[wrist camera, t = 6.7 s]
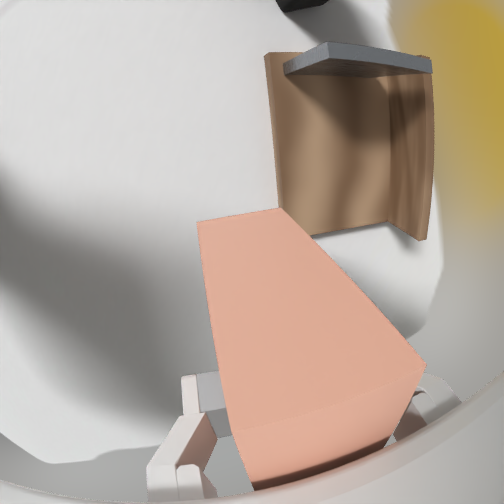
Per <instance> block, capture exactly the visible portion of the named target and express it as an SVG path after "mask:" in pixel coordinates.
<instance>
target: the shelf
mask: <svg viewBox="0 0 504 504" xmlns="http://www.w3.org/2000/svg"><path fill="white" fill-rule="evenodd" d="M302 53H303V52H269V53H267V54H266V55H265V56H264V60H265V68H266V77H267V86H268V95H269V105H270V114H271V124H272V134H273V145H274V156H275V167H276V179H277V191H278V204H279V208H282V209H283V210H284V211H285V212H286V213H287V214H288V215H289V216H290V217H291V218H292V219H293V220H294V221H295V222H296V223H297V224H298V225H299V226H300V227H301V228H302V229H303V230H304V231H305V232H306V233H307V234H308V235H315V234H320V233H326V232H331V231H337V230H342V229H348V228H353V227H359V226H365V225H370V224H376V223H381V222H387V221H388V222H390V223H391V224H393V225H395V226H396V227H398V228H399V229H401V230H402V231H404V232H406V233H407V234H409V235H410V236H412V237H413V238H415V239H416V240H418V241H421V240H426V238H427V231H428V224H429V216H430V207H431V196H432V184H433V166H434V103H433V87H432V76H431V74H411V75H397V76H386V77H376V78H361V77H348V76H329V75H284V72H283V63H285V62H287V61H288V60H290V59H292V58H294V57H296V56H298V55H300V54H302ZM418 57H422V58H426V59H429V60H430V58H429V57H426V56H422V55H418Z"/></svg>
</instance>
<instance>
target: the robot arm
mask: <svg viewBox="0 0 504 504" xmlns="http://www.w3.org/2000/svg"><path fill="white" fill-rule="evenodd" d="M181 387H182V402H183V415H182V416H179V417H178V419H177V420H176V422H175V424H174V425H173V427H172V428H171V430H170V431H169V433H168V434H167V436H166V438H165V439H164V441H163V442H162V444H161V445H160V447H159V448H158V450H157V451H156V453H155V455H154V456H153V458H152V459H151V461H150V462H149V464H148V465H147V491H148V502H118V501H104V500H94V499H85V498H78V497H71V496H64V495H59V494H54V493H48V492H44V491H39V490H35V489H31V488H27V487H23V486H20V485H16V484H13V483H10V482H6V481H3V480H0V504H504V371H503V372H501V373H500V374H499V375H498V376H497V377H495V378H494V379H493V380H492V381H490V382H489V383H488V384H487V385H485V386H484V387H483V388H482V389H480V390H479V391H478V392H476V393H475V394H474V395H472V396H471V397H469V398H468V399H467V400H465V401H464V402H461V401H460V400H459V398H458V397H457V396H456V394H455V393H454V392H453V391H452V389H451V388H450V387H449V386H448V385H447V383H446V382H445V381H444V380H443V379H441V378H438V377H436V376H433V375H430V374H428V373H425V372H423V375H422V377H421V379H420V381H419V383H418V385H417V388H416V390H415V392H414V394H413V396H412V398H411V400H410V402H409V404H408V406H407V407H406V409H405V411H404V413H403V415H402V417H401V419H400V420H399V421H400V422H399V424H398V426H397V427H396V429H395V431H394V433H393V435H394V437H395V439H396V440H397V442H395V443H393V444H391V445H389V446H387V447H385V448H383V449H381V450H379V451H376V452H374V453H372V454H370V455H367V456H365V457H363V458H360V459H358V460H356V461H353V462H351V463H348V464H345V465H343V466H340V467H338V468H335V469H332V470H329V471H326V472H323V473H320V474H317V475H314V476H311V477H308V478H305V479H301V480H298V481H294V482H291V483H287V484H283V485H280V486H275V487H271V488H267V489H263V490H258V491H254V492H249V493H243V494H237V495H231V496H224V497H218V496H217V492H216V488H215V487H214V486H213V485H212V483H211V482H210V481H209V480H208V478H207V477H206V476H205V475H204V473H203V471H204V469H205V467H206V465H207V462H208V460H209V458H210V456H211V454H212V451H213V449H214V446H215V444H216V442H217V438H221V437H225V436H230V435H232V432H231V428H230V423H229V418H228V414H227V409H226V404H225V399H224V394H223V389H222V384H221V378H220V373H219V370H218V371H212V372H206V373H199V374H193V375H187V376H182V378H181Z"/></svg>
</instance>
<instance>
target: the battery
mask: <svg viewBox="0 0 504 504" xmlns="http://www.w3.org/2000/svg"><path fill="white" fill-rule="evenodd" d="M327 1H329V0H276V2H277V3H278V5H279V7H280V9H281V10H282V11H283V12H290V11H294V10H299V9H304V8H309V7H314V6H320V5H323V4H324V3H326V2H327Z"/></svg>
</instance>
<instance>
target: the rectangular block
mask: <svg viewBox="0 0 504 504" xmlns="http://www.w3.org/2000/svg"><path fill="white" fill-rule="evenodd" d="M197 230H198V238H199V246H200V254H201V261H202V268H203V275H204V282H205V289H206V296H207V303H208V309H209V315H210V322H211V328H212V334H213V340H214V345H215V351H216V357H217V362H218V368H219V373H220V378H221V384H222V389H223V394H224V399H225V404H226V409H227V414H228V418H229V423H230V428H231V432H232V435H233V437H234V440H235V443H236V446H237V448H238V451H239V453H240V456H241V459H242V461H243V464H244V466H245V469H246V471H247V474H248V476H249V479H250V481H251V483H252V486H253V488H254V491H258V490H263V489H267V488H271V487H275V486H280V485H283V484H287V483H291V482H294V481H298V480H301V479H305V478H308V477H311V476H314V475H317V474H320V473H323V472H326V471H329V470H332V469H335V468H338V467H340V466H343V465H345V464H348V463H351V462H353V461H356V460H358V459H360V458H363V457H365V456H367V455H370V454H372V453H374V452H376V451H379V450H381V449H383V447H384V446H385V444H386V443H387V441H388V439H389V438H390V436H391V434H392V433H393V431H394V429H395V427H396V426H397V424H398V422H399V420H400V419H401V417H402V415H403V413H404V411H405V409H406V407H407V406H408V404H409V402H410V400H411V398H412V396H413V394H414V392H415V390H416V388H417V385H418V383H419V381H420V379H421V377H422V375H423V372H424V370H425V368H426V366H427V364H426V363H425V362H424V361H423V359H422V358H421V357H420V356H419V355H418V354H417V353H416V351H415V350H414V349H413V348H412V347H411V345H410V344H409V343H408V342H407V341H406V340H405V338H404V337H403V336H402V335H401V334H400V333H399V331H398V330H397V329H396V328H395V327H394V326H393V325H392V324H391V322H390V321H389V320H388V319H387V318H386V317H385V316H384V315H383V313H382V312H381V311H380V310H379V309H378V308H377V307H376V306H375V305H374V303H373V302H372V301H371V300H370V299H369V298H368V297H367V296H366V295H365V294H364V293H363V291H362V290H361V289H360V288H359V287H358V286H357V285H356V284H355V283H354V282H353V281H352V280H351V279H350V277H349V276H348V275H347V274H346V273H345V272H344V271H343V270H342V269H341V268H340V267H339V266H338V265H337V264H336V263H335V262H334V261H333V260H332V259H331V258H330V256H329V255H328V254H327V253H326V252H325V251H324V250H323V249H322V248H321V247H320V246H319V245H318V244H317V243H316V242H315V241H314V240H313V239H312V238H311V237H310V236H309V235H308V234H307V233H306V232H305V231H304V230H303V229H302V228H301V227H300V226H299V225H298V224H297V223H296V222H295V221H294V220H293V219H292V218H291V217H290V216H289V215H288V214H287V213H286V212H285V211H284V210H283V209H282V208H275V209H269V210H263V211H257V212H251V213H245V214H239V215H234V216H228V217H222V218H217V219H211V220H206V221H200V222H197Z"/></svg>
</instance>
